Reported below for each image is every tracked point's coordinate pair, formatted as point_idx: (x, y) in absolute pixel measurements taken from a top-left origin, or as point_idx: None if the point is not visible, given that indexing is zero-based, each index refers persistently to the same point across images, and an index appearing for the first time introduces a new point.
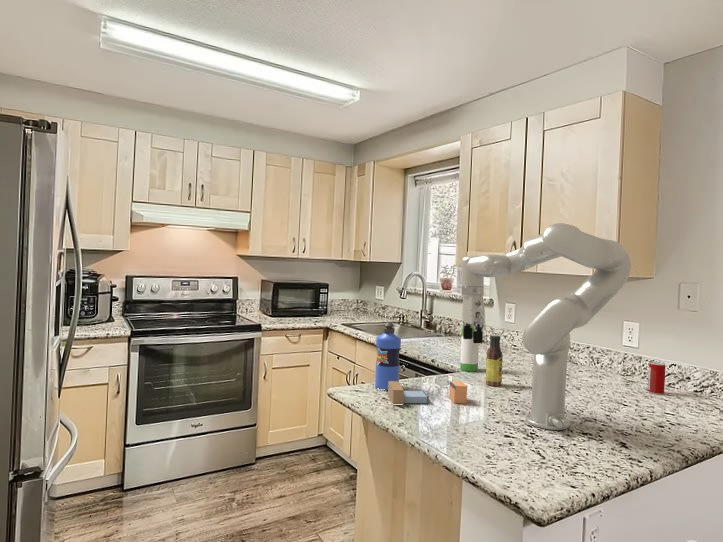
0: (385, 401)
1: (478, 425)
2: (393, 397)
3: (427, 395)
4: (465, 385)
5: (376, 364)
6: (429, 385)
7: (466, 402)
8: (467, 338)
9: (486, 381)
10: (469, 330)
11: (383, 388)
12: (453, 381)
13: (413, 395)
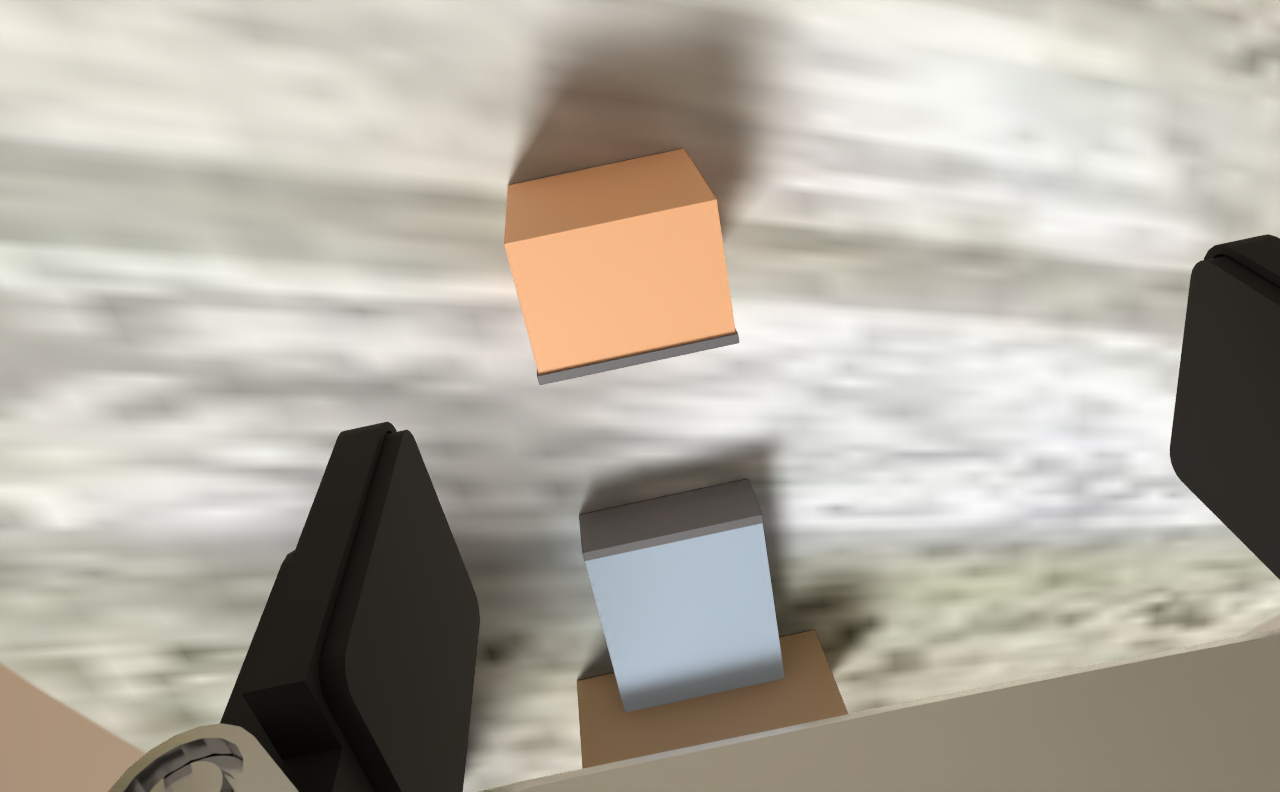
0: None
1: (1272, 119)
2: None
3: (731, 521)
4: (687, 217)
5: None
6: (124, 470)
7: (685, 152)
8: (449, 547)
9: None
10: (395, 688)
11: None
12: (531, 341)
13: (739, 614)
